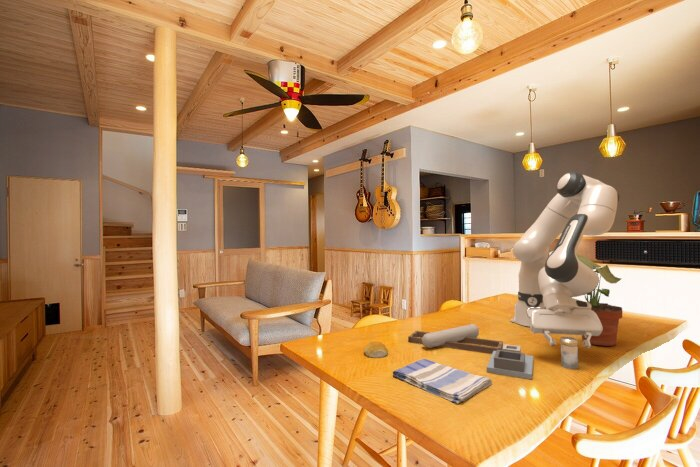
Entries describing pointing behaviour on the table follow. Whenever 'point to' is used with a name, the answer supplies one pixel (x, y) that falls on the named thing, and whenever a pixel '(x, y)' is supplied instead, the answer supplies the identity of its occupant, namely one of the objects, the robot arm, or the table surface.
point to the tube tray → (485, 349)
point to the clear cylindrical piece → (569, 352)
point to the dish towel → (442, 380)
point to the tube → (449, 335)
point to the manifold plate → (511, 362)
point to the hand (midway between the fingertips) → (570, 345)
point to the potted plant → (603, 307)
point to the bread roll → (376, 350)
